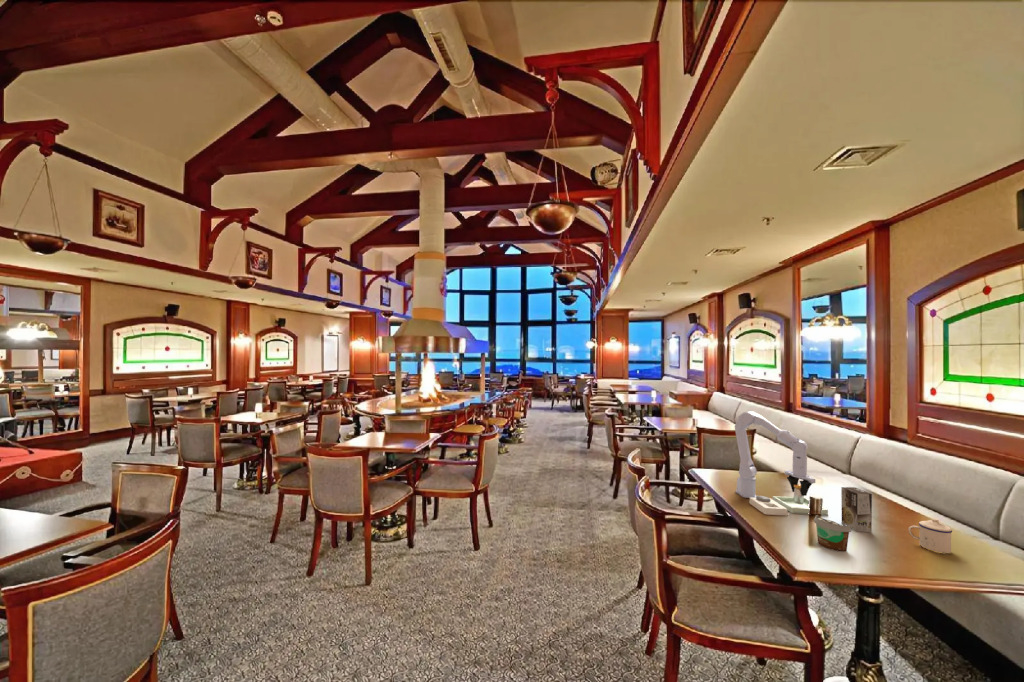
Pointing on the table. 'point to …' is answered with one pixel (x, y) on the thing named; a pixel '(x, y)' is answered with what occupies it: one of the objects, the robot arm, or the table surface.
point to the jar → (798, 494)
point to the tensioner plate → (768, 506)
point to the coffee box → (856, 509)
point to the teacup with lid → (934, 535)
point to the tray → (796, 505)
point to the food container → (832, 534)
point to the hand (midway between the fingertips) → (799, 493)
